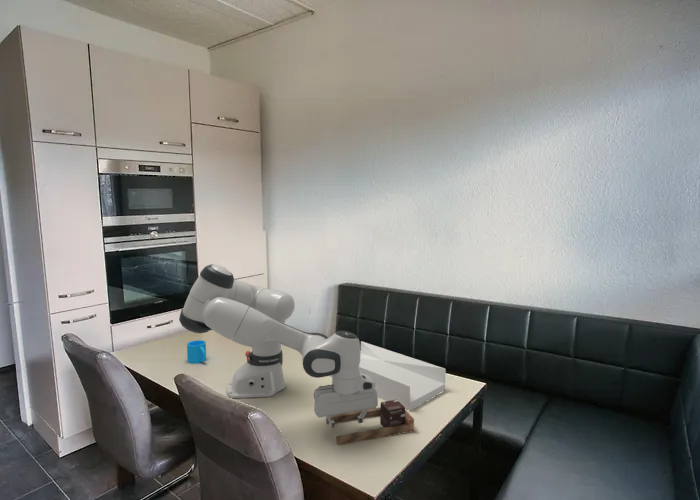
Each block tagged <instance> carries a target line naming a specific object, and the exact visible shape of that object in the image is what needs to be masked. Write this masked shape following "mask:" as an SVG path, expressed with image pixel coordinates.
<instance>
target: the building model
mask: <svg viewBox="0 0 700 500" xmlns="http://www.w3.org/2000/svg"><path fill="white" fill-rule="evenodd" d="M360 355H361V361H360V364H359V369H360V374H365V375H368V376H369V377H371V378H372V380H373V381H374V382H375V390H376V391H377V397H378V399H381V400H383V401H384V402H386V401H391V400H398V401H399V402H400V403H401V404H402V405H403V406H404V407H405V409H406V411H408V410H409V411H408V412H411V411H413V410H415V409H416V408H415V407H417V406H418V407H420V406H421V405H420V404H422V403H424V402H426V401H427V400H429V399H431V398H432V397H434V396H436V395H437V394H439V393H440V392H442V391H444V390H445V391H446V373H447V371H446V368H444V367H441V366H438V365H435V364H433V363H429V362H427V361H424V360H420V359H417V358H414V357H411V356H407V355H405V354H402V353H398V352H395V351H392V350H389V349H387V348H383V347H381V346H377V345H374V344H371V343H368V342H365V341H360ZM329 377H331V378H332V375H330V376H329ZM436 397H437V396H436ZM434 398H435V397H434ZM431 400H432V399H431ZM429 401H430V400H429ZM427 402H428V401H427ZM427 402H426V403H427ZM424 404H425V403H424ZM419 405H420V406H419ZM422 405H423V404H422ZM418 407H417V408H418ZM414 408H415V409H414ZM412 409H413V410H412ZM410 410H411V411H410Z"/></svg>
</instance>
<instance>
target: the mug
mask: <svg viewBox="0 0 700 500" xmlns="http://www.w3.org/2000/svg"><path fill="white" fill-rule="evenodd" d="M186 352H187V363H189V364H192V365H193V364H201V363H204V362H206V361H207V344H206V341H205V340H200V339H198V340H197V339H196V340H191V341H189V342H186Z"/></svg>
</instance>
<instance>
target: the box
mask: <svg viewBox="0 0 700 500" xmlns="http://www.w3.org/2000/svg"><path fill="white" fill-rule="evenodd" d="M380 407H381V413H380V415H379V417H380V420H379V421H380V425H381V426H382V428H386V427H392V426H397V425H403V424H405V407H404V406H403V405H402V404H401V403H400V402H399V401H398V400H392V401H381V402H380Z"/></svg>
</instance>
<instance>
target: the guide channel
mask: <svg viewBox="0 0 700 500" xmlns="http://www.w3.org/2000/svg"><path fill="white" fill-rule="evenodd" d="M391 401H392V400H391ZM361 412H362V411H356V412H350V413H344V414H337V415H331V418H330V420H334V422H335V423H341V422H347V421H353V420H357V419H358V418H357V416H360V414H361ZM380 413H381V406H380V407H376V408H375V409H369V410H367V413H366V415H365V417H364V418H363V419H366V417H367V418H373V417H378V416H379V417H380ZM325 423H326V424H328V425H329V421H328V420H327V418H326V417H325ZM410 431H414V432H415V419H414V418H413V416H412V415H411V414H410V413H409V411H408V410H405V424H403V425H397V426H392V427H386V428H384V427H382V428H381V427H379V428H375V429H368V430H363V431H362V430H361V431H357V432H351V433H345V434H340V435H336V436H335V442H336V445H337V446H339V445H346V444H351V443H356V442H362V441H368V440H375V439H379V437H380V438H384V436H385V437H390V436H389V435H391V436H395V435H394V434H397V435H399V434H398V433H402V434H404V433H403V432H408V433H411V432H410Z"/></svg>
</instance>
